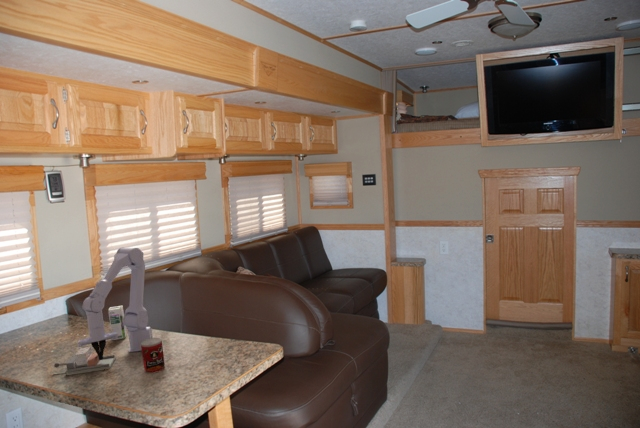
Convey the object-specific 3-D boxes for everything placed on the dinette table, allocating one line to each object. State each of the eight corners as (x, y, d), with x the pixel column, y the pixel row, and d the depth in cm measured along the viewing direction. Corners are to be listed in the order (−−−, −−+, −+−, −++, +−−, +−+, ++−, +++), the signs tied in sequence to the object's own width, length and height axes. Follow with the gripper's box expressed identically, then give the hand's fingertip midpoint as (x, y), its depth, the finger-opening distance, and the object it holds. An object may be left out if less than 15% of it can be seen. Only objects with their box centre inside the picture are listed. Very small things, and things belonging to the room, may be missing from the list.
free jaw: (100, 359, 206) (99, 352, 205) (95, 367, 198) (94, 359, 198) (92, 360, 205) (91, 353, 205) (87, 368, 198) (86, 360, 197)
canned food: (146, 374, 189) (142, 346, 188) (142, 367, 196) (139, 340, 195) (166, 369, 193) (163, 341, 191) (163, 362, 200) (159, 336, 198)
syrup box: (112, 340, 231) (107, 310, 230) (114, 336, 237) (109, 306, 235) (125, 338, 233) (121, 308, 231) (126, 334, 238) (122, 304, 237)
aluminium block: (92, 360, 205) (90, 346, 205) (87, 367, 199) (85, 353, 198) (82, 362, 205) (80, 348, 204) (77, 369, 198) (75, 354, 197)
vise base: (115, 358, 208) (114, 349, 208) (109, 368, 198) (108, 358, 198) (59, 367, 204) (58, 357, 204) (50, 377, 194) (49, 367, 194)
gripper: (114, 319, 207) (118, 351, 209) (75, 328, 200) (80, 360, 202) (116, 324, 201) (121, 356, 203) (76, 332, 194) (81, 366, 196)
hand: (100, 359), depth 202 cm, fingers closed
